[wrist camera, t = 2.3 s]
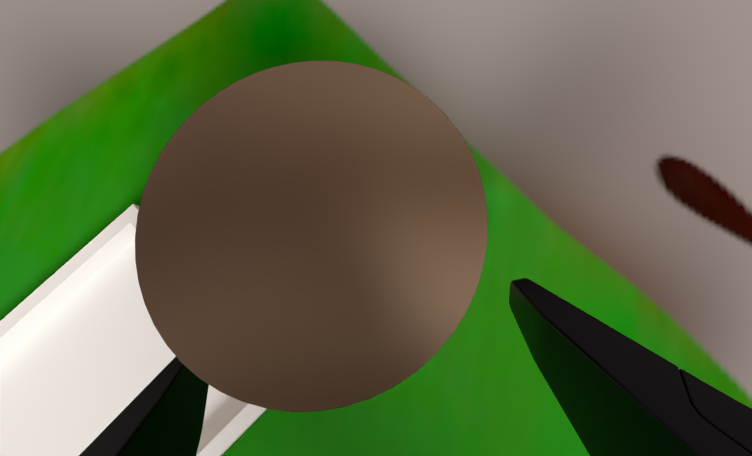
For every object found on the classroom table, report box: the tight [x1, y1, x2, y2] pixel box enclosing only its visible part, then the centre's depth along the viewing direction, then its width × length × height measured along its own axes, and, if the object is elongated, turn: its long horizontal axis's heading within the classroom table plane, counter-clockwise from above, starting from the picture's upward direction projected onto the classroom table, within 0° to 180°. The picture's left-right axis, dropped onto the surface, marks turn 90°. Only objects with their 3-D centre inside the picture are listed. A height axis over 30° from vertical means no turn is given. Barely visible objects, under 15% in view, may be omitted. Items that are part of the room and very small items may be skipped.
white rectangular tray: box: [0, 204, 267, 456], centre depth 17 cm, size 20×14×2 cm
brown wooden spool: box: [135, 61, 488, 412], centre depth 12 cm, size 7×7×13 cm
